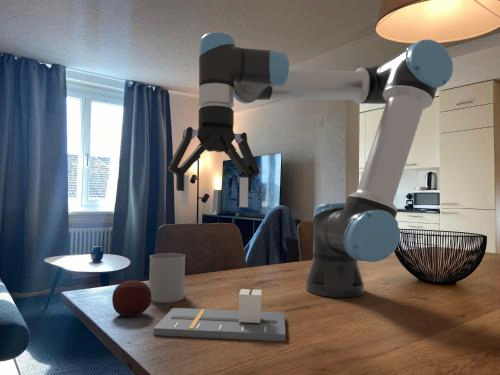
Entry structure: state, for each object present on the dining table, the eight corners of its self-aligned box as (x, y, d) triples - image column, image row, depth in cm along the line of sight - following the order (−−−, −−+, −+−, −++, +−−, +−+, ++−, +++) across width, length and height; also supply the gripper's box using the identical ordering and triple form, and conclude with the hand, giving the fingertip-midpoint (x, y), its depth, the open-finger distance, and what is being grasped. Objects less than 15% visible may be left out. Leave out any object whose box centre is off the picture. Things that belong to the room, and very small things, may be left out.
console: (284, 318, 75) (284, 312, 75) (285, 341, 63) (285, 333, 63) (172, 313, 76) (173, 307, 76) (153, 335, 64) (153, 327, 64)
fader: (261, 315, 71) (261, 288, 71) (260, 322, 67) (260, 294, 67) (240, 315, 71) (241, 288, 71) (238, 321, 67) (239, 293, 67)
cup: (175, 303, 84) (176, 259, 84) (142, 300, 85) (143, 257, 86) (189, 294, 92) (189, 254, 92) (158, 292, 93) (159, 252, 94)
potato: (117, 309, 78) (118, 276, 78) (154, 309, 79) (155, 276, 79) (106, 321, 71) (107, 284, 71) (147, 321, 71) (148, 284, 72)
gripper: (258, 117, 88) (257, 206, 87) (153, 104, 76) (152, 207, 76) (274, 111, 81) (274, 207, 81) (163, 96, 70) (161, 208, 69)
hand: (215, 207), depth 78 cm, fingers open, 13 cm apart
